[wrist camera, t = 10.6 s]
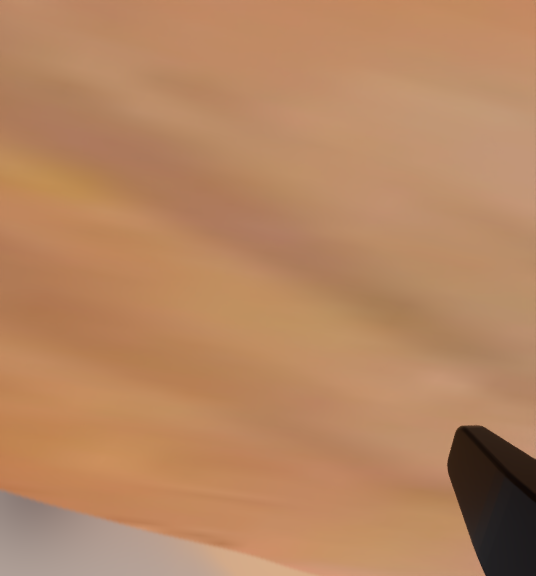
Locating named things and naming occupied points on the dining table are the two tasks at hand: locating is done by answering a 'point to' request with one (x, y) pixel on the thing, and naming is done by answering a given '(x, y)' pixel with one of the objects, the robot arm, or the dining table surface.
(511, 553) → the robot arm
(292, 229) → the dining table surface
